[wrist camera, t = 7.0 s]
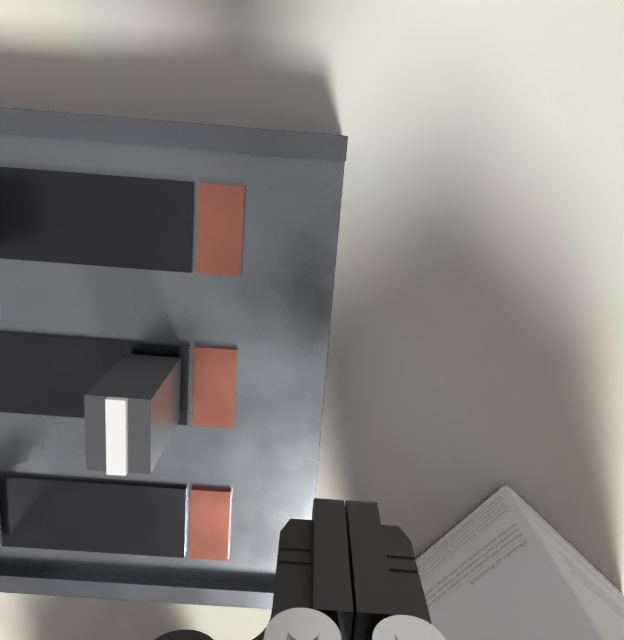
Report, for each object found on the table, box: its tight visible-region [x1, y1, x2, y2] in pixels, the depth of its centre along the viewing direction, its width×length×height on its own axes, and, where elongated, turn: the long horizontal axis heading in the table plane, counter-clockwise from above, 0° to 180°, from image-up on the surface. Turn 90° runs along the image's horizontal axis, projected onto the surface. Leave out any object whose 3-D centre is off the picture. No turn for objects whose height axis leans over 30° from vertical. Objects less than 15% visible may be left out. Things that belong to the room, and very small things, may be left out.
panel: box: [0, 108, 348, 609], centre depth 22 cm, size 20×19×3 cm
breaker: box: [84, 354, 181, 476], centre depth 19 cm, size 2×2×4 cm
